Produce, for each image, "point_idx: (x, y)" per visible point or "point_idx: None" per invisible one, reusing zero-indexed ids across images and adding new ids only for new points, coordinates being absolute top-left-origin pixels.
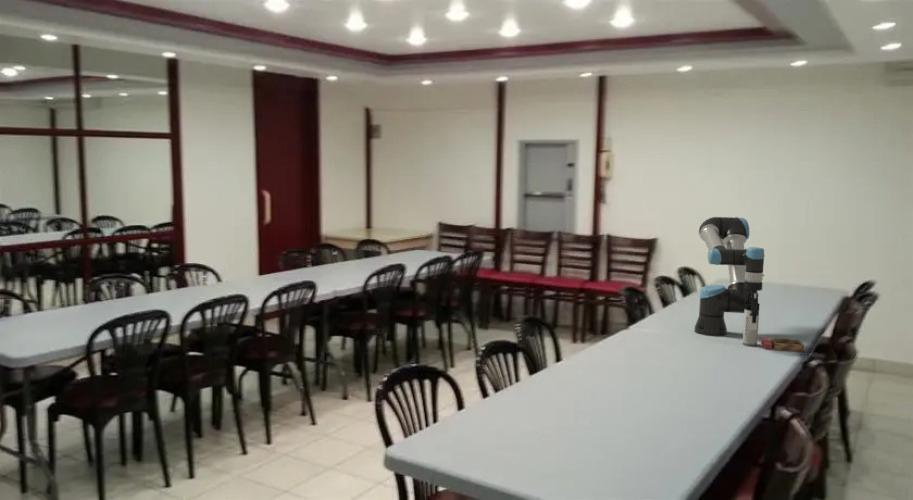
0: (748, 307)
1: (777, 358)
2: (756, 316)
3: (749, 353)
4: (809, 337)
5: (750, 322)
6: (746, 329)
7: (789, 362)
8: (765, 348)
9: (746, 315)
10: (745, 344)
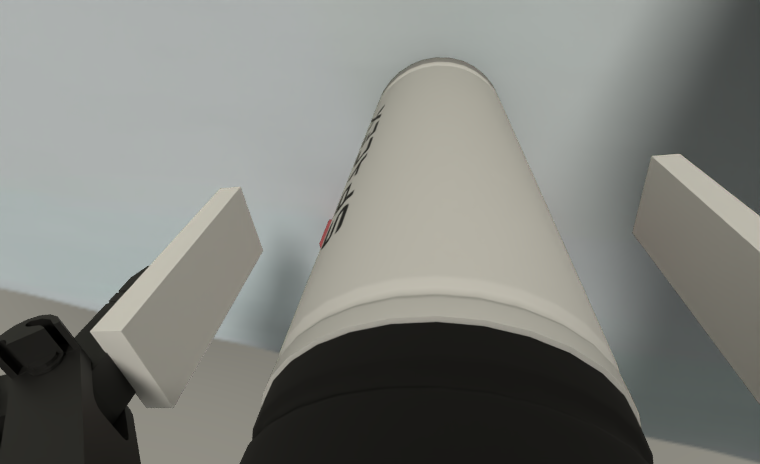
0: (246, 458)
1: (137, 263)
2: (147, 388)
3: (134, 107)
4: (747, 457)
5: (177, 242)
6: (367, 141)
7: (100, 304)
8: (327, 226)
9: (335, 245)
10: (387, 85)
